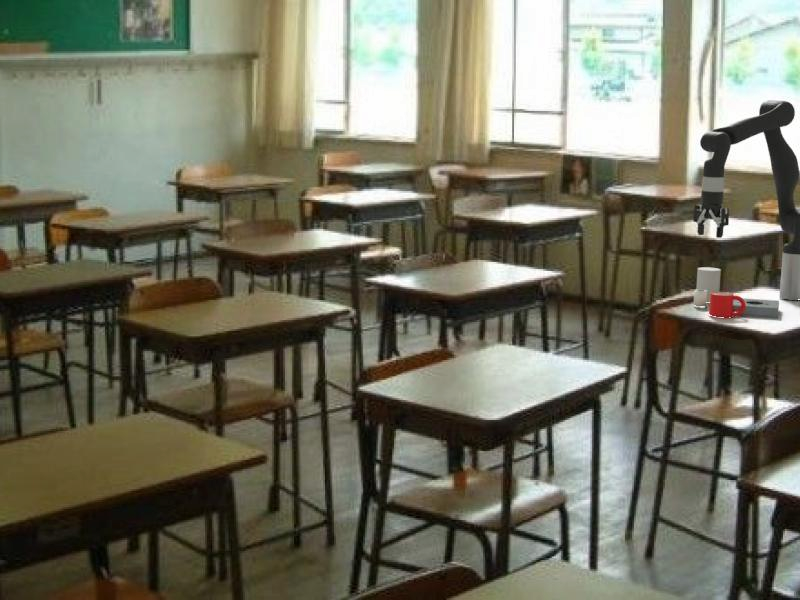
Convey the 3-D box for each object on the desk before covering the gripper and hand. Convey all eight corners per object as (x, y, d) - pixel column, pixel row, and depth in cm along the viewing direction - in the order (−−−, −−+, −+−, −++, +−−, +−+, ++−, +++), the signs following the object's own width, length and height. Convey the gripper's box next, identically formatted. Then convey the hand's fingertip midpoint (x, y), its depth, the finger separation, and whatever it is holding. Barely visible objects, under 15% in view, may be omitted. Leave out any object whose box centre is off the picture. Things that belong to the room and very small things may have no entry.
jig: (731, 307, 465) (732, 297, 465) (778, 310, 461) (779, 300, 460) (729, 315, 450) (729, 305, 450) (777, 318, 446) (778, 308, 445)
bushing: (699, 305, 468) (700, 288, 466) (708, 307, 464) (709, 290, 463) (690, 306, 465) (691, 289, 464) (699, 308, 462) (700, 291, 461)
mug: (744, 320, 442) (746, 297, 441) (708, 317, 445) (709, 294, 444) (745, 316, 449) (746, 293, 448) (709, 313, 453) (710, 291, 451)
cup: (720, 303, 472) (722, 270, 470) (698, 303, 472) (700, 270, 470) (715, 299, 480) (717, 267, 478) (693, 299, 480) (695, 267, 478)
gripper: (735, 191, 450) (732, 238, 453) (705, 187, 462) (702, 233, 465) (720, 192, 446) (717, 239, 449) (689, 188, 458) (687, 234, 461)
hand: (709, 236), depth 457 cm, fingers open, 8 cm apart
